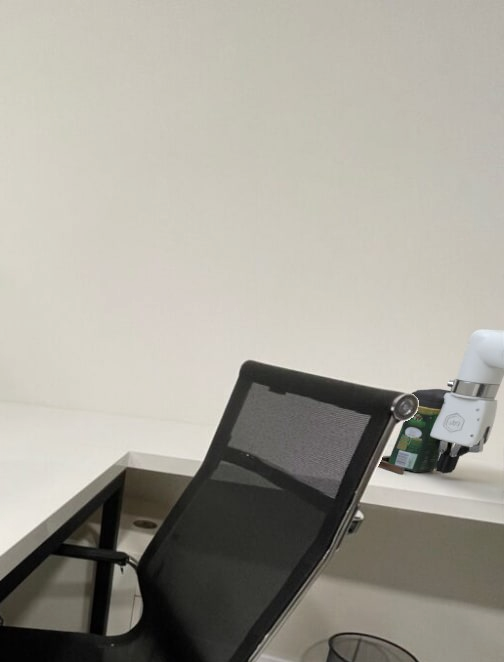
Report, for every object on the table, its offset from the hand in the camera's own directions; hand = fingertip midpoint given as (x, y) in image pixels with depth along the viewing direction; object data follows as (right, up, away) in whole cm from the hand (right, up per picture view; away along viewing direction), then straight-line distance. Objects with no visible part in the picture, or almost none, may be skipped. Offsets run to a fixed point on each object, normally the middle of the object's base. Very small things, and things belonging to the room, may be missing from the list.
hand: (443, 471), depth 124 cm
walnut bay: (-3, +2, +7) cm, 8 cm away
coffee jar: (-3, +1, +7) cm, 7 cm away
